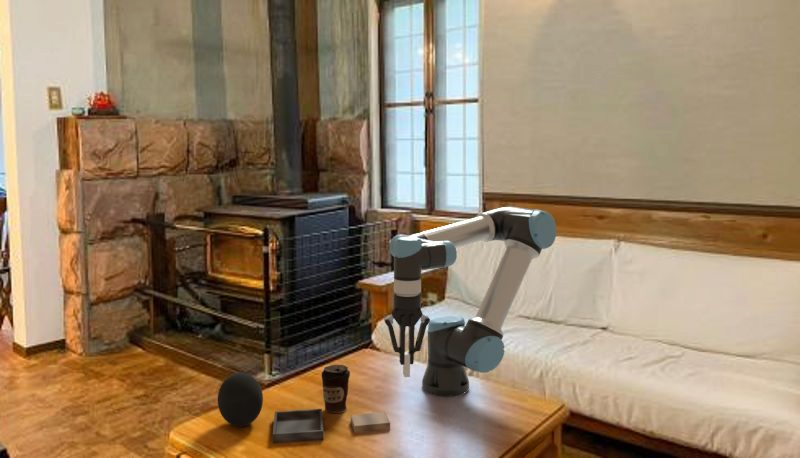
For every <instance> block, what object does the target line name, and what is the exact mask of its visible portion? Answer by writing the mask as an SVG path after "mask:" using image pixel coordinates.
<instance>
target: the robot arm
mask: <svg viewBox="0 0 800 458" xmlns="http://www.w3.org/2000/svg"><path fill="white" fill-rule="evenodd" d="M556 237H557V225H556V221H555V219H554V217H553V216H552V214H551V213H549V212H548V211H545V210H541V209H539V208H535V209H534V208H527V207H518V206H505V207H499V208H494V209H491V210H488V211H485V212H479V213H478V214H477V215H476V216H475V217H473V218H469V219H466V220H463V221H458V222H454V223H451V224H447V225H444V226H440V227H437V228H433V229H429V230H426V231H425V230H424V231H422V232H418V233H413V234H410V235H407V234H396V235H395V236H393V237H392V238H391V240H390V242H389V252H390V254H391V256H392V257H393V292H394V294H393V309H392V312H391V314H390V315H389V316H388V317H384V318H383V321H384V323H385V325H386V326H387V329H388V333H389V336H390V340H391V344H392V349H393V351H394V353H398V354H399V364H400V365H401V366H402V374H403V377H404V378H411V365H414V363H415V361H414V357H415V353H417V352H420V351H421V350H422V345H423V341H424V338H425V337H424V336H425V333H426V329H427V327H428V329H427V365H426V369H425V371H424V374H423V376H422V381H421V385H422V386H421V387H422V388H421V389H422V390H423V391H425V392H426V393H427V394H430V395H434V396H438V397H455V396H456V395H457V396H461V395H464V394H465V393H464V392H466V391H467V390H468V389H470V381H469V377H468V374H467V371H466V368H467V369H469V370H471V371H472V372H478V373H480V374H486V373H489V372H492V371H494V370H495V369H496V368H497V367H498V366H499V365H500V364H501V362H502V360H503V358H504V355H505V343H504V342H503V337H504V333H503V330H502V328H503V326H504V322H505V320H506V319H507V316H508V314H509V312H510V309H511V308H512V305H513V303H514V301H515V299H516V296H517V294H518V292H519V289H520V287H521V284H522V282H523V281H524V279H525V276H526V274H527V271H528V269H529V267H530V264H531V263H532V260H533V259H536V258H539V256H540V255H541V252H542V250H545V249H549V248H550V247H551V246H553V244H554V243H555V241H556ZM481 241H482V242H485V243H488V242H492V241H501V242H504V245H505V247H506V248H505V251H504V253H503V256H502V257H501V260H500V262H499V264H498V266H497V268H496V271H495V273H494V274H493V277H492V280H491V281H490V284H489V286H488V288H487V291H486V292H485V295H484V297H483V299H482V302H481V304H480V305H479V308H478V310H477V311H476V315H475V316H474V317H473V316H472V317H470V318H469V319H468V320H467V323H466V322H465V318H464V317H461V316H441V317H436V318H433V319H430V317H429V315H425V314H423V311H422V307H421V306H422V301H421V300H422V295H421V294H420V293H421V292H422V271H427V270H434V269H445V268H448V267H451V266H452V265H454V264H455V262H456V261H457V254H458V252H457V248H460V247H463V246H466V245H471V244H474V243H477V242H481ZM394 321H395V322H396V323H397V325H398V327H399V338H398V340H399V341H398V342H397V338H396V334H395V329H394V325H393V324H394ZM419 321H420V325H419V328H418V333H417V337H416V341H415V330H416V327H415V326H416V325H417V324H418V322H419ZM407 327H408V345H407V346H408V350H407V351H406V328H407ZM398 343H399V345H398ZM468 391H469V390H468ZM468 391H467V392H468ZM467 392H466V393H467ZM463 393H464V394H463ZM460 394H461V395H460Z"/></svg>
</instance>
